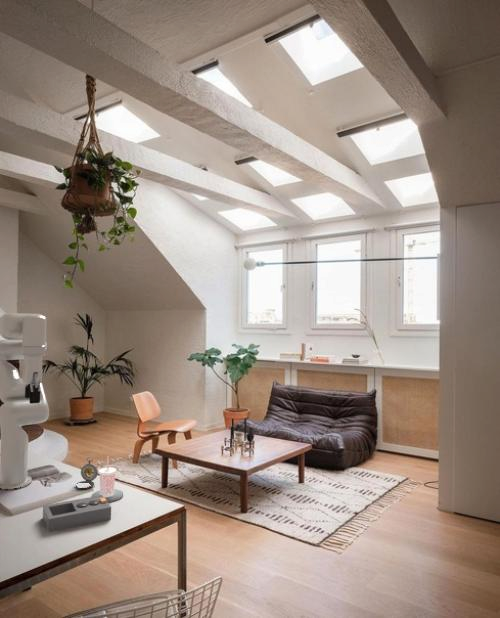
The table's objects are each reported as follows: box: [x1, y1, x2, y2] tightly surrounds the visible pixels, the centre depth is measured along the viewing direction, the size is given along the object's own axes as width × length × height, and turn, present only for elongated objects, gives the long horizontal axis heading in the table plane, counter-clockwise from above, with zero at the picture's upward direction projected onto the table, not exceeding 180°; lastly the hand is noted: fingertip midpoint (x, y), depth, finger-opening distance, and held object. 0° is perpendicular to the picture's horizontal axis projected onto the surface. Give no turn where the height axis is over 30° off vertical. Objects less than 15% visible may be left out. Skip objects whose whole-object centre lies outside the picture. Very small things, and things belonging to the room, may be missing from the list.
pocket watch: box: [76, 457, 99, 489], centre depth 184 cm, size 8×8×10 cm
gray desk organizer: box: [42, 495, 112, 533], centre depth 156 cm, size 11×19×5 cm, turn 122°
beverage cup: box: [98, 455, 117, 497], centre depth 174 cm, size 6×6×14 cm
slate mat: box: [91, 488, 124, 504], centre depth 174 cm, size 11×11×1 cm
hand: (32, 400), depth 166 cm, fingers open, 9 cm apart
